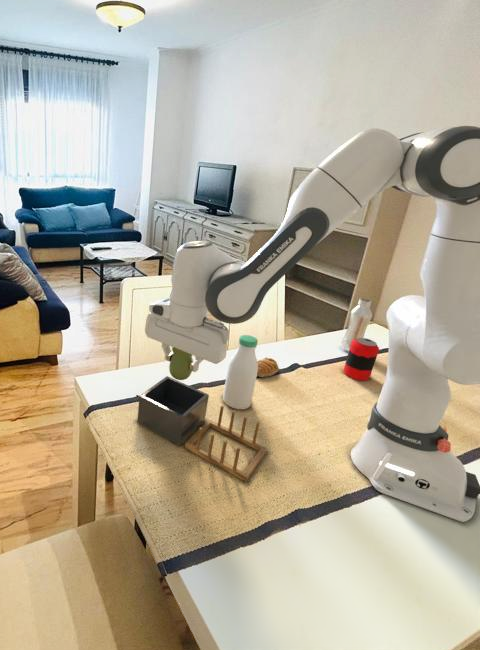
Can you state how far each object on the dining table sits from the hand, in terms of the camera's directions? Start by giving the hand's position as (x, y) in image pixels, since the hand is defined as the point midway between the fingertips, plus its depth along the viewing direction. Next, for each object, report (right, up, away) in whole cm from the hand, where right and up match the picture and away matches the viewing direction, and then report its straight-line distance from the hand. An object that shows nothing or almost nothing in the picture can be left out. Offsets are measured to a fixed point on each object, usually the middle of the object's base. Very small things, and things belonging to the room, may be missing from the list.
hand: (180, 364), depth 92 cm
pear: (0, -4, +1) cm, 4 cm away
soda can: (+63, -9, +33) cm, 72 cm away
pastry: (+32, -8, +32) cm, 46 cm away
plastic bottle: (+70, -3, +49) cm, 86 cm away
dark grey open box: (-1, -16, +7) cm, 17 cm away
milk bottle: (+18, -13, +16) cm, 28 cm away
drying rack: (+10, -20, -2) cm, 22 cm away
